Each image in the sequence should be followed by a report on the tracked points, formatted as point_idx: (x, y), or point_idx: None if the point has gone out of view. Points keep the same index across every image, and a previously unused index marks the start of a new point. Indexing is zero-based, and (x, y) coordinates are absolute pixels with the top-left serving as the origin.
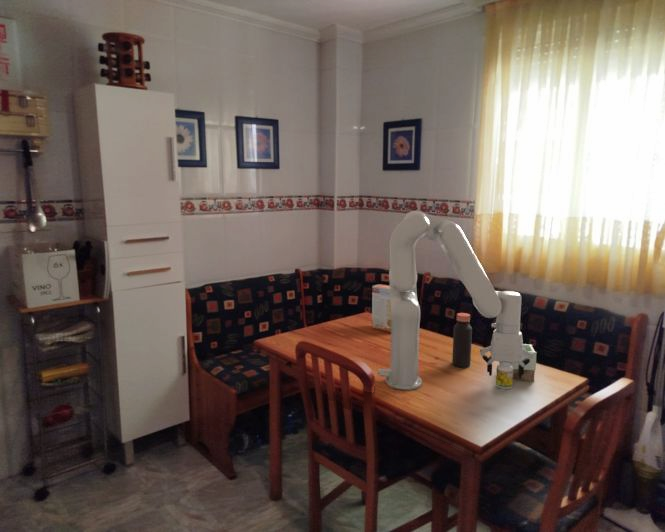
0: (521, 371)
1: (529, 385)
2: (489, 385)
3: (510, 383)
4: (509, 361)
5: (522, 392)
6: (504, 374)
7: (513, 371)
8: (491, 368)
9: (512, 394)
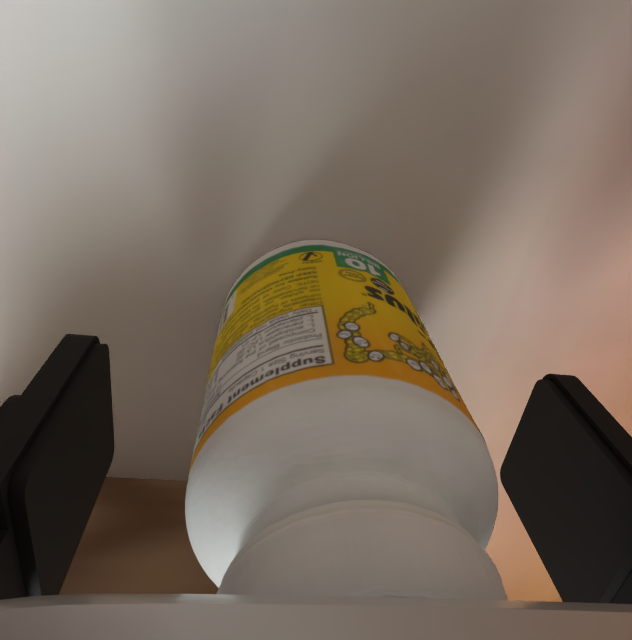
0: (16, 408)
1: (8, 378)
2: (477, 326)
3: (255, 285)
4: (331, 605)
5: (108, 169)
6: (379, 340)
7: (163, 564)
8: (626, 455)
9: (260, 84)
